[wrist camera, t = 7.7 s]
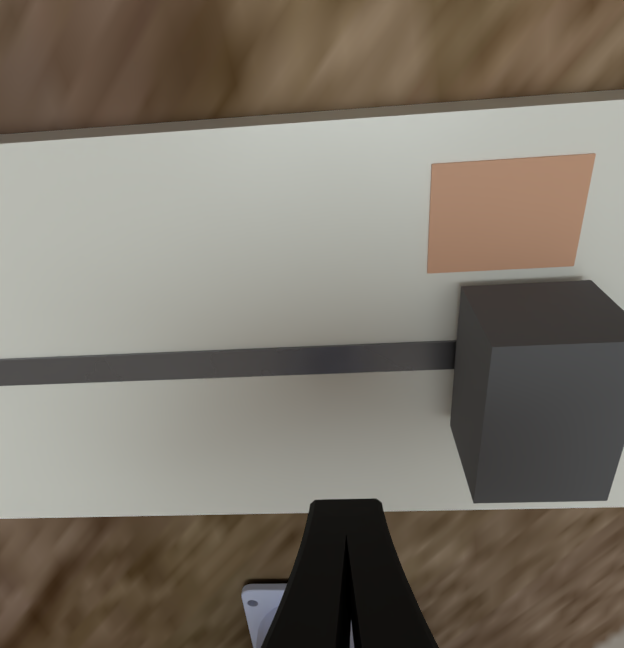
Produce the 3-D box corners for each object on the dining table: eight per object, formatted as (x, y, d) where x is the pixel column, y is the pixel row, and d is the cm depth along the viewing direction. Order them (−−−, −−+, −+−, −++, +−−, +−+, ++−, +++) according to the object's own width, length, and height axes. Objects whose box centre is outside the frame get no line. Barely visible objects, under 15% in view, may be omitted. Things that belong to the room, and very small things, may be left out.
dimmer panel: (636, 465, 20) (666, 508, 18) (15, 480, 22) (-14, 520, 20) (764, 79, 13) (831, 85, 12) (-152, 145, 15) (-218, 160, 13)
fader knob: (560, 421, 16) (607, 500, 13) (450, 425, 16) (473, 503, 14) (590, 279, 14) (656, 340, 11) (461, 286, 14) (492, 347, 11)
